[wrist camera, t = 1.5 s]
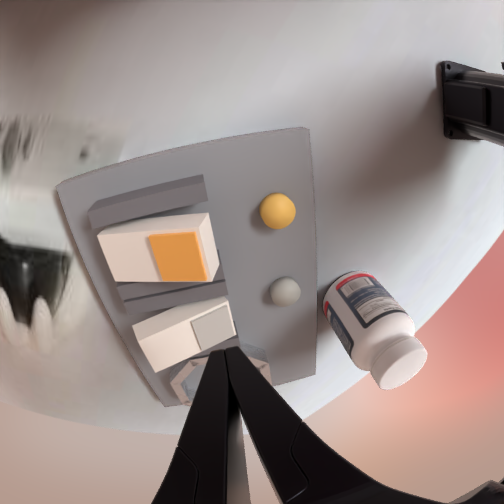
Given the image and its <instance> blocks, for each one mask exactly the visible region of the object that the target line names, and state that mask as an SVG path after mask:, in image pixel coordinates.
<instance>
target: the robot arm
mask: <svg viewBox="0 0 504 504" xmlns="http://www.w3.org/2000/svg"><path fill="white" fill-rule="evenodd" d="M501 64H502V68H503V70H504V62H501ZM441 69H442V81H443V99H444V135H445V137H446V138H449V139H470V140H486V141H489V142H492V143H495V144H498V145H501V146H503V147H504V75H501V74H494V73H487V72H485V71H482V70H479V69H476V68H472V67H469V66H466V65H462V64H458V63H455V62H451V61H442V63H441ZM449 132H450V134H449ZM240 412H241V413H240ZM241 414H242V417H243V420H244V422H245V425H246V427H247V430H248V432H249V435H250V437H251V439H252V442H253V444H254V447H255V449H256V451H257V454H258V456H259V458H260V461H261V463H262V465H263V468H264V469H265V472H266V474H267V476H268V479H269V481H270V483H271V485H272V488H273V490H274V492H275V494H276V496H277V498H278V500H279V503H280V504H504V478H503V479H502V480H501V481H499V482H498V483H497V482H495V481H493V480H490V481H488V482H486V483H484V484H482V485H480V486H479V487H477V488H475V489H474V490H472V491H470V492H469V493H467V494H465V495H463V496H461V497H459V498H457V499H456V500H454V501H452V502H450V503H442V502H438V501H434V500H430V499H426V498H422V497H419V496H415V495H412V494H408V493H405V492H402V491H399V490H396V489H393V488H390V487H388V486H385V485H383V484H382V483H380V482H378V481H376V480H374V479H373V478H371V477H370V476H368V475H367V474H365V473H364V472H362V471H361V470H360V469H358V468H357V467H355V466H354V465H353V464H351V463H350V462H349V461H347V460H346V459H344V458H343V457H342V456H340V455H339V454H338V453H337V452H335V451H334V450H333V449H332V448H330V447H329V446H328V445H327V444H326V443H324V442H323V441H322V440H321V439H320V438H319V437H318V436H317V435H316V434H315V433H314V432H313V431H312V430H311V429H310V428H309V427H308V426H307V425H306V423H305V422H302V419H301V418H300V417H299V416H298V415H297V414H296V413H295V411H294V410H293V409H292V408H291V407H290V406H289V405H288V404H287V403H286V401H285V400H284V399H283V398H282V397H281V396H280V395H279V393H278V392H277V391H276V390H275V389H274V388H273V387H272V385H271V384H270V383H269V382H268V381H267V380H266V378H265V377H264V376H263V375H262V374H261V373H260V371H259V370H258V369H257V368H256V367H255V365H254V364H253V363H252V362H251V361H250V359H249V358H248V357H247V356H246V355H245V353H244V352H243V351H242V350H241V349H240V347H239V346H232V347H228V348H225V350H224V349H218V350H213V351H211V352H210V354H209V357H208V359H207V362H206V365H205V368H204V371H203V373H202V376H201V379H200V382H199V385H198V388H197V390H196V393H195V396H194V399H193V402H192V404H191V407H190V410H189V413H188V416H187V419H186V421H185V424H184V427H183V430H182V433H181V436H180V439H179V442H178V444H177V445H178V447H176V450H175V453H174V455H173V458H172V461H171V463H170V466H169V468H168V471H167V473H166V475H165V477H164V480H163V482H162V484H161V486H160V488H159V490H158V492H157V494H156V495H155V497H154V499H153V501H152V503H151V504H251V502H250V493H249V485H248V477H247V467H246V459H245V449H244V441H243V431H242V421H241Z"/></svg>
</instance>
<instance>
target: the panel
mask: <svg viewBox="0 0 504 504" xmlns="http://www.w3.org/2000/svg"><path fill="white" fill-rule="evenodd" d="M56 188H57V191H58V195H59V198H60V201H61V204H62V207H63V210H64V212H65V215H66V218H67V221H68V224H69V226H70V229H71V232H72V234H73V237H74V239H75V242H76V244H77V247H78V249H79V252H80V254H81V257H82V259H83V261H84V264H85V266H86V268H87V270H88V273H89V275H90V277H91V279H92V281H93V284H94V286H95V288H96V290H97V292H98V294H99V296H100V298H101V300H102V302H103V304H104V306H105V308H106V310H107V312H108V314H109V316H110V318H111V320H112V322H113V324H114V326H115V327H116V329H117V331H118V333H119V335H120V336H121V338H122V340H123V342H124V344H125V345H126V347H127V349H128V350H129V352H130V354H131V356H132V357H133V359H134V361H135V362H136V364H137V366H138V367H139V369H140V370H141V372H142V374H143V375H144V377H145V378H146V380H147V381H148V383H149V384H150V386H151V388H152V389H153V391H154V392H155V394H156V395H157V396H158V398H159V399H160V401H161V402H162V404H163V405H164V407H169V406H176V405H183V404H182V402H181V401H180V399H179V398H178V396H177V394H176V393H175V391H174V389H173V387H172V386H171V384H170V368H171V367H172V366H173V365H172V366H170V367H167V368H165V369H163V370H161V371H159V372H156V373H155V371H154V370H153V368H152V366H151V364H150V363H149V361H148V359H147V357H146V356H145V354H144V352H143V350H142V348H141V347H140V345H139V343H138V341H137V338H136V335H135V333H134V330H133V327H132V325H135V324H137V323H139V322H142V321H144V320H146V319H149V318H151V317H153V316H155V315H158V314H160V313H162V312H165V311H167V310H169V309H171V308H174V307H176V306H179V305H184V304H188V303H193V302H198V301H203V300H207V299H212V298H217V297H221V296H224V297H225V298H226V299H227V300H228V302H229V307H230V311H231V315H232V319H233V323H234V327H235V332H236V335H235V336H233V337H231V338H229V339H227V340H225V341H223V342H221V343H218V344H216V345H214V346H212V347H210V348H208V349H206V350H204V351H202V352H200V353H198V354H195V355H193V356H191V357H189V358H192V357H197V356H202V355H207V354H210V352H211V351H213V350H218V349H224V350H225V348H228V347H232V346H239V347H241V345H240V341H242V342H245V343H247V344H250V345H253V346H255V347H258V348H261V349H263V350H265V353H266V356H267V359H268V362H269V368H270V374H271V381H272V386H276V385H280V384H284V383H288V382H291V381H295V380H298V379H302V378H305V377H309V376H312V375H315V372H316V339H317V262H316V228H315V206H314V187H313V172H312V158H311V146H310V134H309V129H307V128H303V127H298V128H289V129H281V130H273V131H265V132H258V133H252V134H245V135H239V136H233V137H227V138H222V139H216V140H211V141H206V142H201V143H196V144H192V145H187V146H182V147H178V148H174V149H169V150H165V151H161V152H157V153H153V154H149V155H145V156H141V157H138V158H134V159H130V160H127V161H123V162H120V163H116V164H113V165H110V166H106V167H103V168H100V169H97V170H94V171H90V172H87V173H84V174H81V175H78V176H75V177H73V178H70V179H67V180H64V181H62V182H61V183H60V184H58V185H57V186H56ZM199 213H209V218H210V222H211V227H212V232H213V236H214V241H215V246H216V250H217V255H218V259H219V266H218V269H217V271H216V273H215V276H214V278H213V281H212V282H123V281H115V280H114V277H113V275H112V273H111V270H110V268H109V265H108V263H107V260H106V258H105V255H104V253H103V250H102V248H101V245H100V242H99V240H98V237H97V235H98V234H99V233H100V232H101V231H102V230H104V229H105V228H106V227H107V226H108V225H110V224H114V223H118V222H121V221H126V220H136V219H145V218H155V217H165V216H176V215H187V214H199ZM205 365H206V364H204V365H198V366H196V367H195V368H194V369H193V370H192V372H191V373H190V374H189V375H188V376H187V377H186V378H185V379H184V380H185V382H186V384H187V386H188V388H191V389H195V390H197V388H198V385H199V382H200V379H201V376H202V373H203V371H204V368H205ZM256 368H257V369H258V370H259V368H258V367H256Z"/></svg>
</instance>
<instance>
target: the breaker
mask: <svg viewBox="0 0 504 504" xmlns="http://www.w3.org/2000/svg"><path fill="white" fill-rule="evenodd" d="M132 327H133V330H134V333H135V335H136V338H137V341H138V343H139V345H140V347H141V348H142V350H143V352H144V354H145V356H146V357H147V359H148V361H149V363H150V364H151V366H152V368H153V370H154V371H155V373H156V372H159V371H161V370H163V369H165V368H167V367H170V366H172V365H174V364H176V363H178V362H181V361H183V360H185V359H187V358H189V357H191V356H193V355H195V354H198V353H200V352H202V351H204V350H206V349H208V348H210V347H212V346H214V345H216V344H218V343H221V342H223V341H225V340H227V339H229V338H231V337H233V336H235V335H236V332H235V327H234V323H233V319H232V315H231V311H230V307H229V302H228V300H227V299H226V298H225V297H224V296H221V297H217V298H212V299H207V300H203V301H198V302H193V303H188V304H184V305H179V306H176V307H174V308H171V309H169V310H167V311H165V312H162V313H160V314H158V315H155V316H153V317H151V318H149V319H146V320H144V321H142V322H139V323H137V324H135V325H132Z"/></svg>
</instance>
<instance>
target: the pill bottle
mask: <svg viewBox="0 0 504 504" xmlns="http://www.w3.org/2000/svg"><path fill="white" fill-rule="evenodd" d="M323 312H324V314H325V316H326V318H327V320H328V321H329V323H330V325H331V326H332V328H333V330H334V331H335V333H336V335H337V336H338V338H339V340H340V341H341V343H342V345H343V346H344V348H345V350H346V351H347V353H348V355H349V356H350V358H351V359H352V361H353V362H354V364H355V365H356V366H357V367H358V368H359V369H361V370H365V371H370V372H371V375H372V377H373V378H374V380H375V381H376V383H377V384H378V386H379V387H380V388H381V389H383V390H390V389H393V388H396V387H398V386H400V385H402V384H404V383H405V382H407V381H408V380H409V379H411V378H412V377H413V376H414V375H415V374H417V373H418V371H419V370H420V369H421V368H422V367H423V365H424V363H425V362H426V359H427V351H426V349H425V348H424V347H423V345H422V344H421V343H420V341H419V340H418V339H416V338H415V337H414V334H415V326H414V323H413V321H412V319H411V318H410V316H409V315H408V314H407V313H406V312H405V311H404V309H403V308H402V307H401V306H400V305H399V304H398V303H397V302H396V301H395V299H394V298H393V297H392V296H391V295H390V294H389V293H388V292H387V291H386V289H385V288H384V287H383V286H382V285H381V284H380V283H379V282H378V281H377V280H376V279H375V278H374V277H373V276H372V275H371V274H370V273H367V272H364V271H355V272H351V273H348V274H346V275H344V276H342V277H340V278H339V279H338V280H337V281H335V282H334V283H333V284H332V286H331V287H330V288H329V289H328V291H327V293H326V295H325V297H324V300H323Z"/></svg>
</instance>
